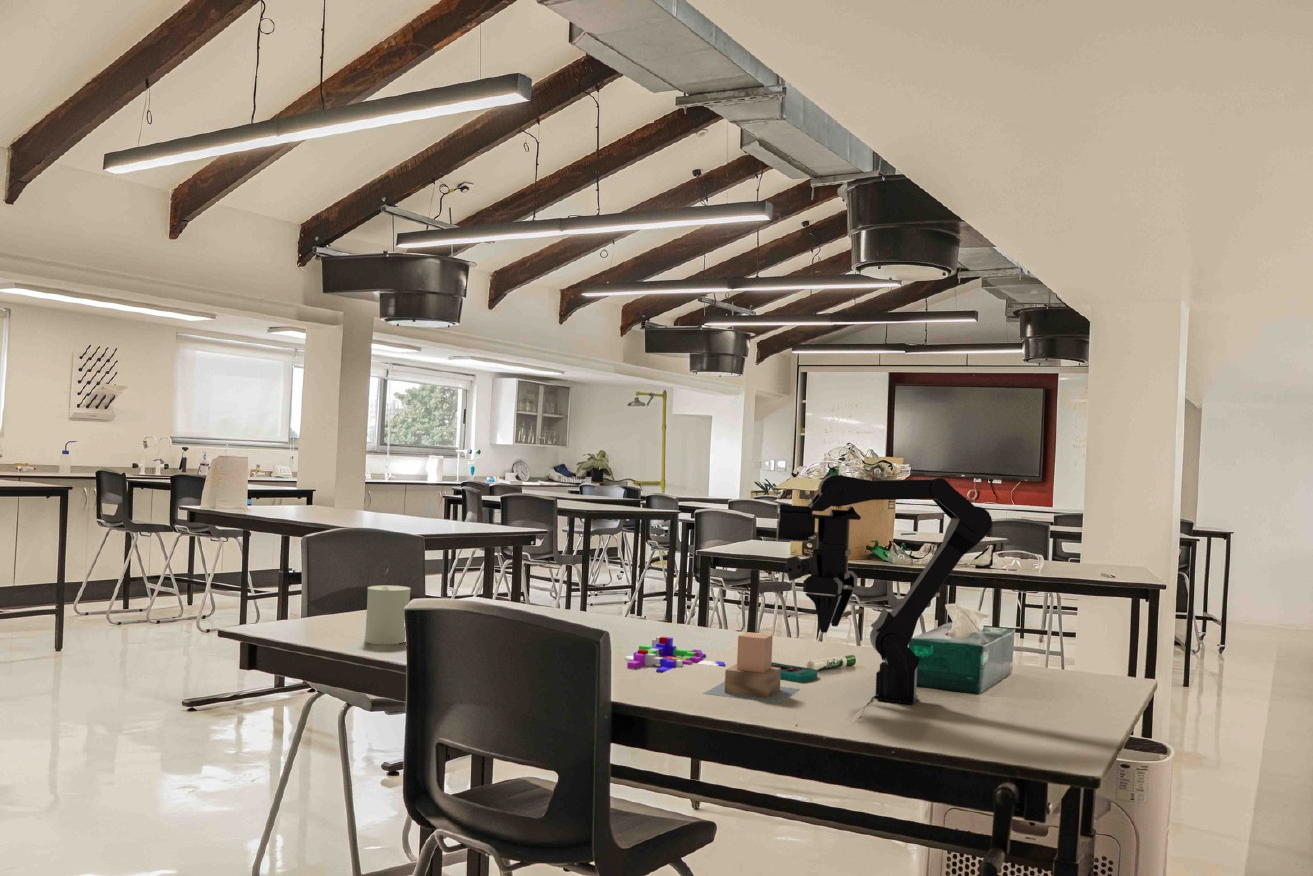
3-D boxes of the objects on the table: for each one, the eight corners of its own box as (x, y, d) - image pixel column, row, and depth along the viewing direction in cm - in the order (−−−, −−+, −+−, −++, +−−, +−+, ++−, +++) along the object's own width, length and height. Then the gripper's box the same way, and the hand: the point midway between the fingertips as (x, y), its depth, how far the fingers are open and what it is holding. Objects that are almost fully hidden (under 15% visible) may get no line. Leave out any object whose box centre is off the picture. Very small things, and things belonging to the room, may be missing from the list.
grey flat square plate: (799, 692, 189) (800, 689, 189) (780, 707, 176) (780, 703, 176) (727, 683, 195) (727, 680, 195) (702, 697, 182) (703, 693, 182)
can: (358, 643, 219) (361, 587, 219) (371, 636, 228) (374, 582, 228) (401, 646, 218) (404, 589, 219) (413, 639, 228) (416, 584, 228)
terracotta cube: (771, 668, 187) (772, 635, 187) (763, 672, 183) (765, 638, 183) (744, 665, 189) (746, 632, 189) (736, 669, 184) (738, 635, 185)
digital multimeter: (803, 689, 195) (803, 673, 195) (735, 676, 204) (735, 661, 204) (820, 683, 201) (820, 668, 201) (753, 672, 210) (754, 657, 210)
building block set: (701, 680, 199) (703, 657, 199) (605, 668, 207) (606, 645, 207) (741, 661, 222) (742, 640, 222) (653, 651, 230) (654, 630, 230)
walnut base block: (779, 690, 188) (780, 667, 188) (768, 698, 180) (769, 675, 181) (737, 684, 191) (738, 663, 191) (724, 692, 183) (725, 669, 184)
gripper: (801, 538, 200) (798, 619, 200) (776, 542, 183) (772, 631, 182) (859, 542, 196) (856, 625, 196) (839, 547, 179) (835, 637, 178)
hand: (829, 629), depth 188 cm, fingers open, 9 cm apart
